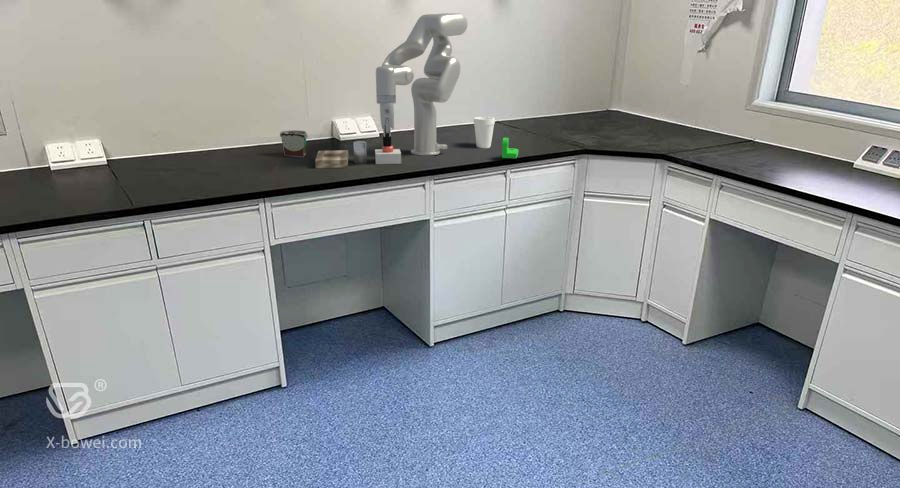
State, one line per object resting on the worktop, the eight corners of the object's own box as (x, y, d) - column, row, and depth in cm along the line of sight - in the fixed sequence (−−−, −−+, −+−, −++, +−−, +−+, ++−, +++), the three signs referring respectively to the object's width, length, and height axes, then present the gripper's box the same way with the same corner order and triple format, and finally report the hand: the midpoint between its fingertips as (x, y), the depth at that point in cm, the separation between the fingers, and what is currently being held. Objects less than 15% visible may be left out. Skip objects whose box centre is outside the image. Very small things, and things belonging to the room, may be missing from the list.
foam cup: (483, 149, 269) (483, 120, 265) (469, 146, 276) (469, 118, 272) (498, 147, 275) (499, 118, 271) (483, 144, 282) (484, 116, 278)
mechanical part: (516, 158, 252) (516, 139, 249) (501, 157, 253) (502, 138, 251) (519, 153, 263) (519, 134, 260) (505, 152, 264) (506, 134, 262)
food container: (314, 155, 255) (313, 131, 251) (307, 157, 249) (305, 133, 246) (289, 153, 258) (287, 129, 255) (281, 155, 253) (279, 131, 250)
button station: (399, 158, 248) (399, 149, 247) (401, 163, 239) (401, 153, 238) (375, 159, 247) (374, 149, 246) (376, 164, 238) (375, 154, 236)
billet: (366, 160, 244) (366, 141, 242) (366, 163, 240) (366, 143, 237) (354, 160, 244) (353, 141, 241) (354, 163, 239) (353, 143, 236)
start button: (392, 149, 244) (392, 145, 243) (393, 151, 240) (393, 147, 239) (382, 150, 243) (381, 145, 243) (382, 152, 239) (382, 147, 239)
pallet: (348, 157, 250) (348, 150, 249) (347, 167, 231) (347, 159, 230) (318, 158, 248) (318, 150, 247) (315, 168, 230) (315, 160, 229)
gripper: (396, 101, 228) (397, 149, 234) (394, 97, 242) (395, 143, 248) (377, 101, 227) (378, 149, 233) (375, 97, 241) (377, 143, 247)
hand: (387, 146), depth 241 cm, fingers closed
